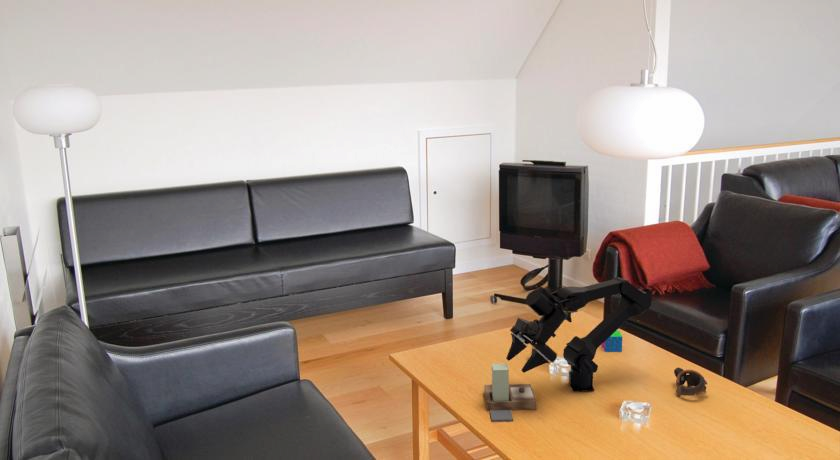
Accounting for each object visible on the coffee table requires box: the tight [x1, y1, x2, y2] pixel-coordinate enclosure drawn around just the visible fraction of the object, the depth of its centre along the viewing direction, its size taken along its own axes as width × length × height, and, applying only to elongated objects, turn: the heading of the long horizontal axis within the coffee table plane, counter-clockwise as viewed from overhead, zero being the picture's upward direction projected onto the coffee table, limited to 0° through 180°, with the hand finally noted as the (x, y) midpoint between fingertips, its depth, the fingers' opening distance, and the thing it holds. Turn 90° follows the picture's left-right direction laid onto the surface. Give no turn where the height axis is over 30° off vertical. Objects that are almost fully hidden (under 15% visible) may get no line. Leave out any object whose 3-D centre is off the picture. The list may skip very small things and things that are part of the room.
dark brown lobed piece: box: [673, 367, 708, 398], centre depth 206 cm, size 12×10×8 cm
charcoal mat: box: [489, 410, 514, 423], centre depth 195 cm, size 6×6×1 cm
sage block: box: [491, 363, 510, 402], centre depth 201 cm, size 4×4×12 cm
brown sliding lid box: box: [483, 383, 537, 412], centre depth 204 cm, size 14×12×4 cm
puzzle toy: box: [601, 329, 623, 353], centre depth 239 cm, size 6×6×6 cm
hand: (514, 365), depth 202 cm, fingers open, 9 cm apart
